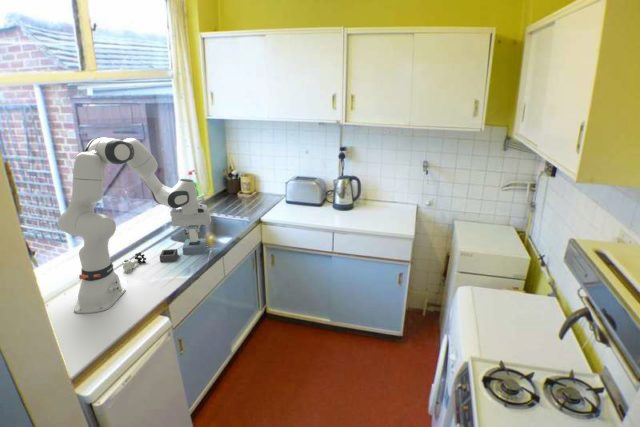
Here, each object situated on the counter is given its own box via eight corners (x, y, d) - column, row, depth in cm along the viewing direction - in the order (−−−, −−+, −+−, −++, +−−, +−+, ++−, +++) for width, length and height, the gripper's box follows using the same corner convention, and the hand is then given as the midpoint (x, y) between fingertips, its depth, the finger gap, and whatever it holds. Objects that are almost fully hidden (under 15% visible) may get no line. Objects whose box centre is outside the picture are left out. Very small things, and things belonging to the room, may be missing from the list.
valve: (131, 275, 190) (147, 264, 201) (129, 263, 188) (145, 253, 199) (120, 274, 192) (136, 263, 203) (117, 262, 190) (134, 251, 200)
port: (204, 254, 211) (203, 246, 209) (183, 256, 209) (182, 247, 208) (206, 246, 221) (205, 237, 219) (186, 247, 220) (185, 239, 218)
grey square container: (175, 262, 202) (174, 255, 201) (160, 264, 201) (159, 256, 200) (178, 256, 209) (177, 249, 208) (163, 257, 208) (162, 249, 207)
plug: (197, 241, 212) (195, 226, 209) (190, 242, 211) (188, 227, 208) (198, 239, 215) (196, 224, 212) (191, 239, 215) (189, 224, 211)
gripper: (168, 211, 202) (172, 235, 207) (208, 209, 205) (211, 233, 210) (170, 207, 208) (174, 231, 213) (210, 205, 211) (212, 228, 216)
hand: (193, 232), depth 211 cm, fingers closed on plug, 4 cm apart
